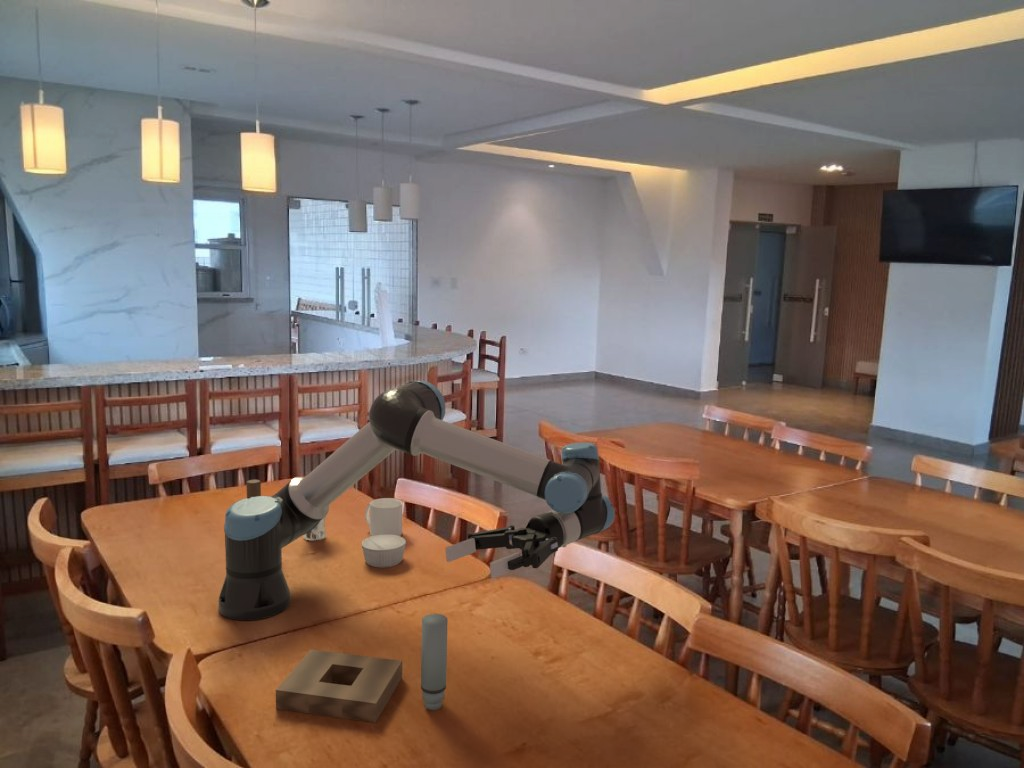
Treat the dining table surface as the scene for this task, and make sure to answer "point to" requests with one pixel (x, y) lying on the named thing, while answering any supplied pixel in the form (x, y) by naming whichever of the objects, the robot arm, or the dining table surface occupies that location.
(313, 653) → the board
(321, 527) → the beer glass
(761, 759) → the dining table surface
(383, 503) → the mug
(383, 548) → the ramekin
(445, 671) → the grey rounded cylinder
